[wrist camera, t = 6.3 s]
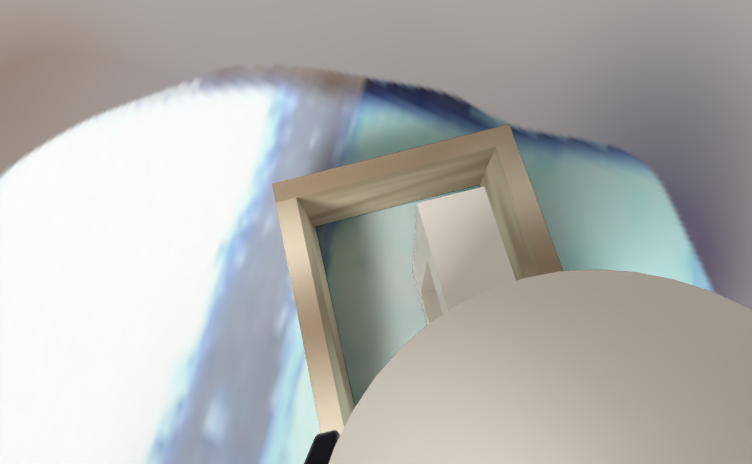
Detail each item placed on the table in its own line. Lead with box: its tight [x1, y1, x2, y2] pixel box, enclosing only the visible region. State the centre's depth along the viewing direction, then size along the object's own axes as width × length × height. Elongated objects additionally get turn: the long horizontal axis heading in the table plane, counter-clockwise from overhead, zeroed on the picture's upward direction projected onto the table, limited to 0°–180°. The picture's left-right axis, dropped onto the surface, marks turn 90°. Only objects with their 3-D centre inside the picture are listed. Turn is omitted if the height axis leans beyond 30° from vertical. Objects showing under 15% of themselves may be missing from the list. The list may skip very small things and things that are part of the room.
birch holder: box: [272, 124, 563, 435], centre depth 18 cm, size 11×10×4 cm
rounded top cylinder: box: [329, 186, 752, 464], centre depth 10 cm, size 8×6×11 cm
